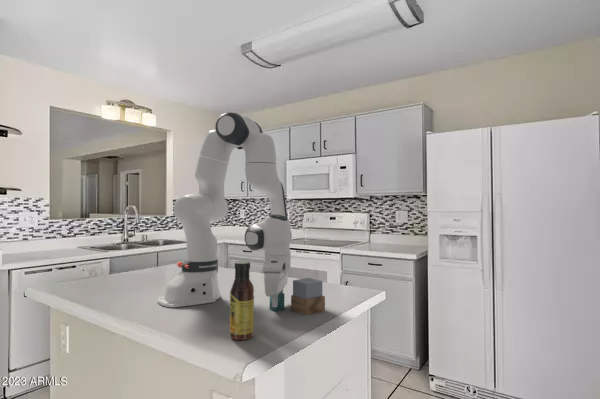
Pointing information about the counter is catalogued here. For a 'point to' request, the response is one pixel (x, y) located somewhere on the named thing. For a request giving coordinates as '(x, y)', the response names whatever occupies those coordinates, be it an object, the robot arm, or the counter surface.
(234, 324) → the sauce bottle
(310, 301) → the walnut base block
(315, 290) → the slate top block
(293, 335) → the counter surface
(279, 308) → the teal cylinder
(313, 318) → the counter surface
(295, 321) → the counter surface
